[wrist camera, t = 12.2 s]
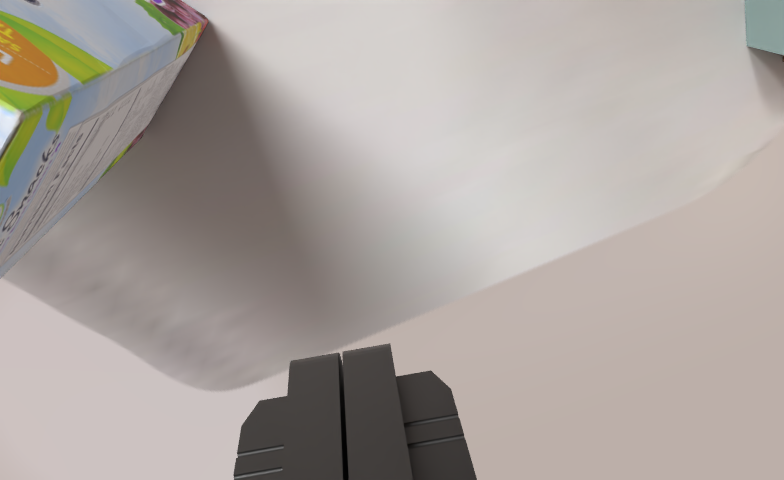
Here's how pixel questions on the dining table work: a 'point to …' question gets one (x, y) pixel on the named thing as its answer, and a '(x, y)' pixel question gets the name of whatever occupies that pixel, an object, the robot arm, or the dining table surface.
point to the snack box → (77, 99)
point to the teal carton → (765, 25)
